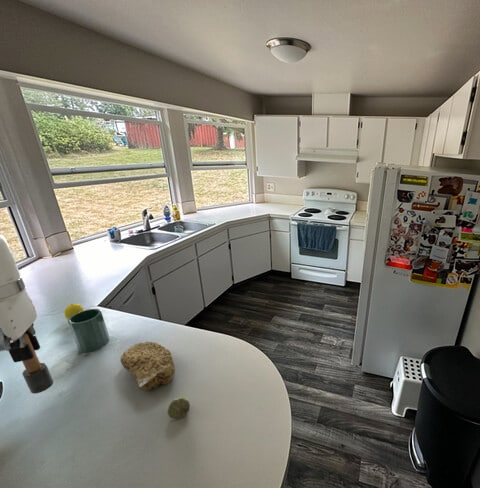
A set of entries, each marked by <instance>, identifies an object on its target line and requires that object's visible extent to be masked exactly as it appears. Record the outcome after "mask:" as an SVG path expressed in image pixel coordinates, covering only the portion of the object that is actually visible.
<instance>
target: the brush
mask: <svg viewBox="0 0 480 488" xmlns="http://www.w3.org/2000/svg"><path fill="white" fill-rule="evenodd" d="M22 336H23V338H24V341H25V343H26V344H29V346H30V348H31V351H32V353H33V355H34V357H33V358H32V359H29V360H24V361H21V362H22V365H23V367H24V370H23V371H22V374H21V375H22V376H23V379H24V381H25V383H26V385H27V387H28V389H29V391H30V393H31V394H35V395H37V394H39V393H42V392H45V391H46V390H49V389H50V388H51V387H52V386H53V384H54V379H53V377H52V375H51V372H50V370H49V368H48V366H47V363H45V362H40V359H39V357H38V355H37V353H36V350H34V348H33V346H32V344H31V341H30V339H29V337H28V334H23V335H22ZM11 342H17V340H14V341H13V340H12V341H11Z"/></svg>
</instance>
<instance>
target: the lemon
mask: <svg viewBox="0 0 480 488" xmlns="http://www.w3.org/2000/svg"><path fill="white" fill-rule="evenodd" d="M84 310H85V309H84V307H83V305H81V304H79V303H70V304H68V305H67V306H66V307H65V308H64V312H63V313H64V317H65V319H66V320H68V319H69V318H70V317H71V316H73V315H74V314H76V313H79V312H81V311H84Z"/></svg>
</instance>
